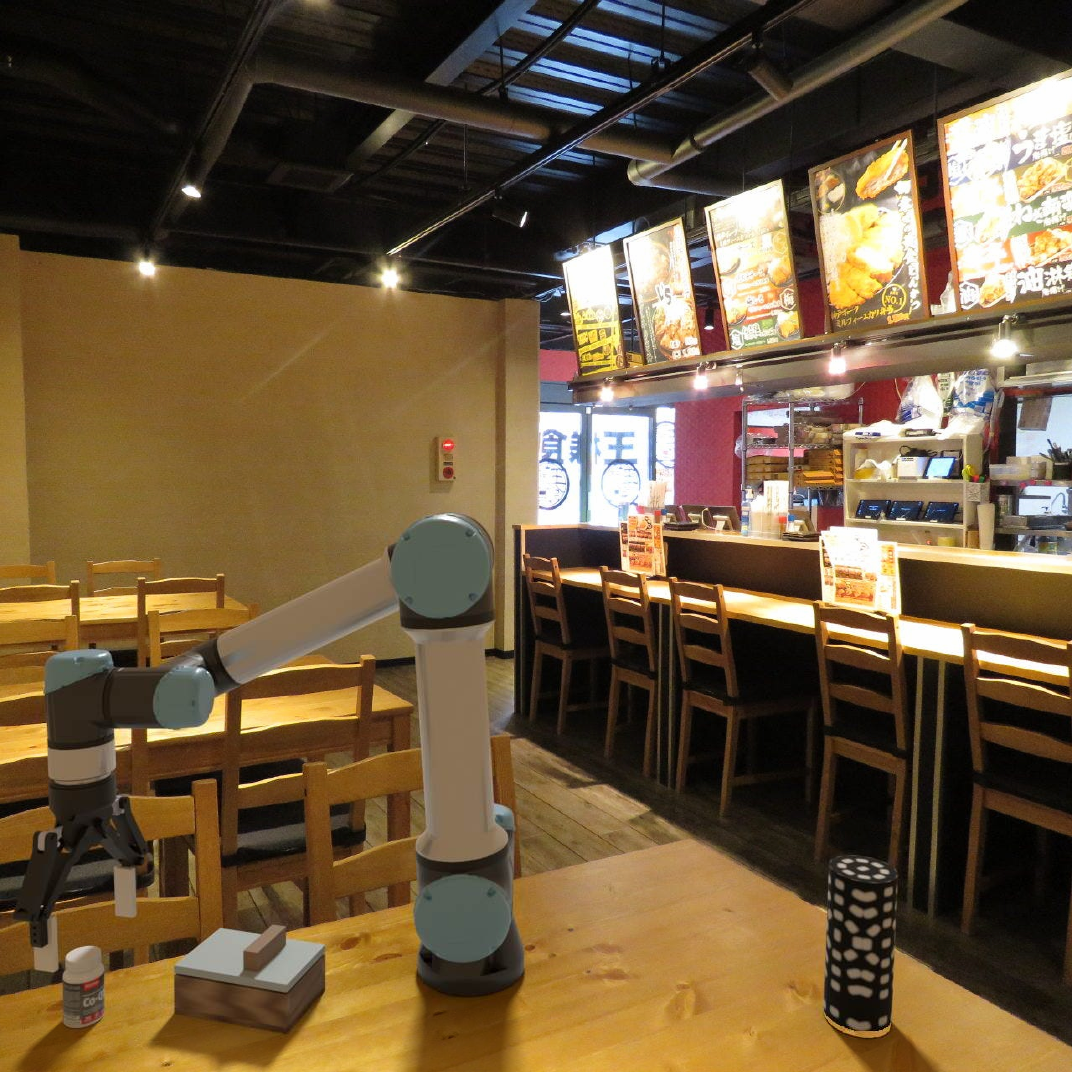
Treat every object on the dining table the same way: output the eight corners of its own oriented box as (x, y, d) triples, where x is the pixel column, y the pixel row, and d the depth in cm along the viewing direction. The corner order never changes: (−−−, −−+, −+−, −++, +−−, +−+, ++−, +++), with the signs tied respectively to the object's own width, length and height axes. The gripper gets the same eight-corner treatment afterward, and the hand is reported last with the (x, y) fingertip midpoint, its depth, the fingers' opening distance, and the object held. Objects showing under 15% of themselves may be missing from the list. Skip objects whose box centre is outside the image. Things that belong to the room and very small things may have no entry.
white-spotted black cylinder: (858, 1046, 110) (865, 888, 109) (809, 1010, 117) (815, 861, 116) (905, 1028, 114) (912, 875, 112) (855, 994, 121) (861, 850, 120)
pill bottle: (87, 1031, 110) (86, 966, 109) (54, 1026, 111) (53, 961, 110) (113, 1009, 114) (112, 946, 114) (81, 1004, 115) (80, 942, 115)
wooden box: (325, 990, 120) (325, 953, 119) (286, 1034, 110) (286, 994, 110) (220, 971, 124) (220, 937, 123) (174, 1012, 114) (174, 975, 114)
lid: (325, 951, 119) (325, 926, 119) (286, 992, 110) (286, 965, 110) (220, 934, 123) (220, 910, 123) (174, 972, 114) (174, 946, 114)
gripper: (126, 744, 124) (131, 893, 125) (-29, 808, 100) (-20, 991, 101) (172, 748, 122) (177, 899, 123) (27, 813, 98) (34, 1000, 99)
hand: (88, 941), depth 112 cm, fingers open, 13 cm apart
